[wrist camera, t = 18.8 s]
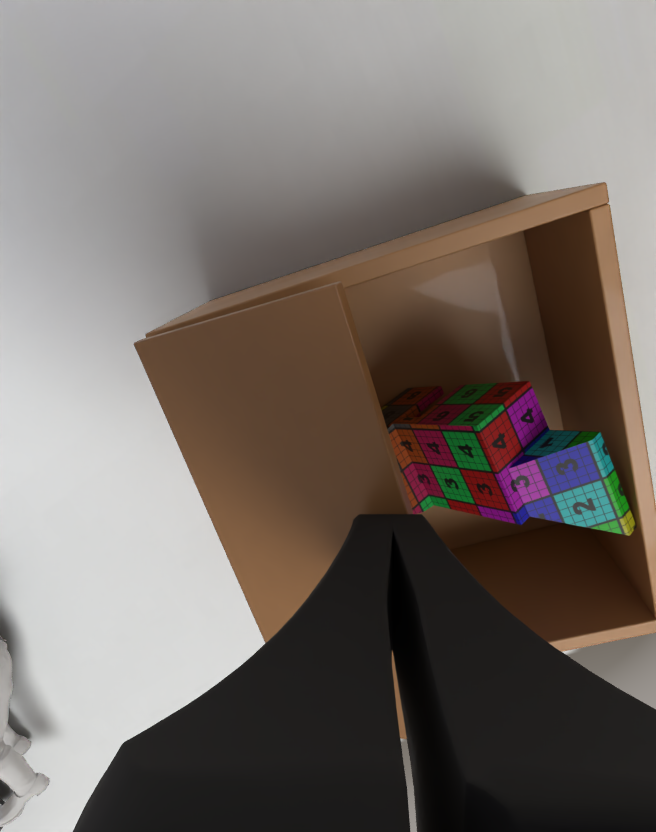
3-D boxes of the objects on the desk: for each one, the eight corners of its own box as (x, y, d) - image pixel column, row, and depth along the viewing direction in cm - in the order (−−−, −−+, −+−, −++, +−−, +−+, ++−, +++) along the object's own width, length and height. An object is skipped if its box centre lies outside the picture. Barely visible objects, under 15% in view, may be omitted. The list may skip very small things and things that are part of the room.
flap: (305, 715, 15) (300, 725, 14) (142, 338, 12) (132, 343, 11) (483, 738, 13) (481, 750, 12) (342, 280, 9) (335, 284, 9)
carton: (318, 583, 20) (303, 704, 15) (209, 300, 17) (143, 334, 12) (590, 518, 19) (675, 629, 14) (527, 194, 15) (607, 181, 10)
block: (458, 493, 18) (387, 558, 17) (407, 387, 17) (327, 448, 16) (636, 527, 13) (555, 625, 12) (580, 378, 12) (482, 467, 11)
